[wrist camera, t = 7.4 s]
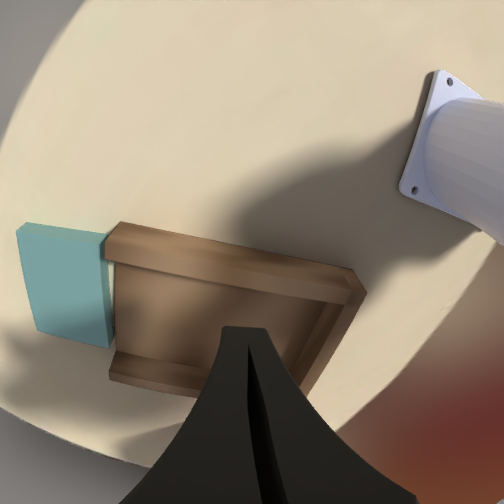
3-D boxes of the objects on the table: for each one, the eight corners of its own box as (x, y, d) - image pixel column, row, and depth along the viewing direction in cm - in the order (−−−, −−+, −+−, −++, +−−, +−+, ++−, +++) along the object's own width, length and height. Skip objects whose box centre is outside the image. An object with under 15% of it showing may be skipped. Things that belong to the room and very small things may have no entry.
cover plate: (110, 230, 17) (99, 244, 15) (115, 331, 20) (109, 348, 19) (30, 219, 16) (15, 230, 14) (46, 315, 20) (37, 330, 18)
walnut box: (352, 269, 19) (367, 293, 16) (294, 383, 23) (299, 407, 21) (120, 221, 16) (105, 241, 14) (117, 355, 21) (109, 380, 19)
